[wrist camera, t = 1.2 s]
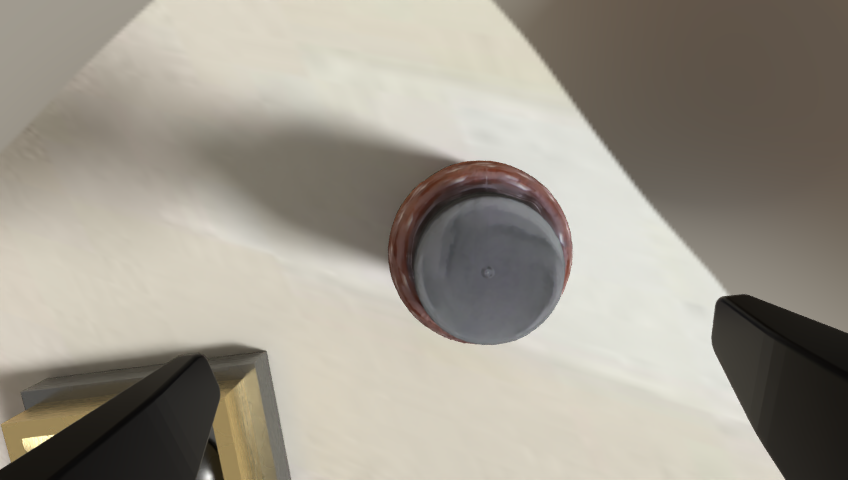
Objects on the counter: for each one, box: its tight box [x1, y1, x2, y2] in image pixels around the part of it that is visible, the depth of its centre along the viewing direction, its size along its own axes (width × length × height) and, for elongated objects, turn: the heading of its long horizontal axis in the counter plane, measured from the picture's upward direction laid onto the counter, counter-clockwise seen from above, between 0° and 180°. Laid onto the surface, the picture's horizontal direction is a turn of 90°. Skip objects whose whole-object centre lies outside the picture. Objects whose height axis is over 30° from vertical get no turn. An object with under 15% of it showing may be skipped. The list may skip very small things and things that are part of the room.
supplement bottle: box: [388, 161, 572, 345], centre depth 18 cm, size 6×6×11 cm
